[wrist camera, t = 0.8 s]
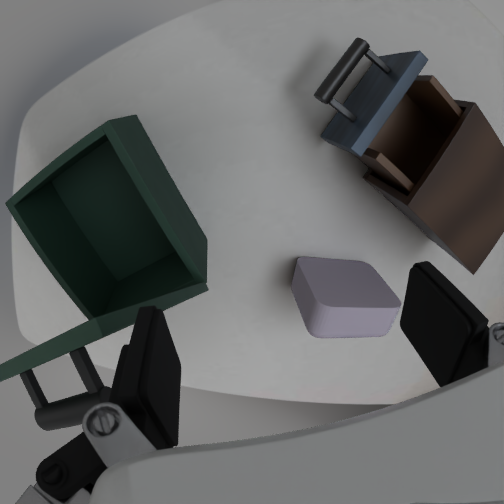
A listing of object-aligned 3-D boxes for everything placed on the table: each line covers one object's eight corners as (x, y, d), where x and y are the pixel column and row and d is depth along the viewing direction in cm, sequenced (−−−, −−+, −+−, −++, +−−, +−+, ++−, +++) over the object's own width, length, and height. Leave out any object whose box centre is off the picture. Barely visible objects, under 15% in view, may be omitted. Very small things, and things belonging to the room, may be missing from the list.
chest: (46, 177, 29) (4, 203, 22) (136, 114, 28) (109, 119, 20) (118, 285, 36) (99, 332, 29) (207, 239, 35) (207, 282, 27)
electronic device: (286, 289, 39) (306, 344, 30) (294, 255, 37) (319, 306, 28) (357, 292, 41) (389, 341, 32) (368, 261, 39) (405, 307, 30)
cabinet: (362, 177, 34) (407, 206, 25) (419, 95, 30) (475, 102, 21) (431, 239, 39) (473, 275, 30) (479, 169, 35) (527, 192, 26)
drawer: (286, 112, 29) (309, 116, 22) (348, 30, 25) (384, 16, 18) (403, 205, 35) (440, 232, 28) (451, 134, 31) (495, 148, 24)
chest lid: (-33, 380, 12) (2, 448, 12) (94, 317, 11) (150, 425, 10) (96, 331, 28) (116, 373, 28) (205, 281, 27) (228, 330, 27)
